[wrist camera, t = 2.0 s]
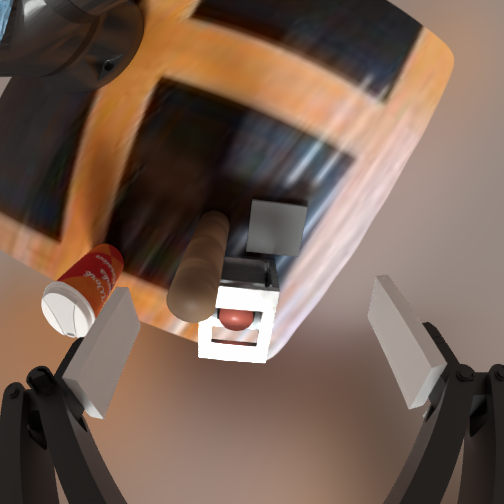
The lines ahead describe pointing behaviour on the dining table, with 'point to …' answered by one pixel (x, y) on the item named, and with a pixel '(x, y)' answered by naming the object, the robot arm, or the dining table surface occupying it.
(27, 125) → the dining table surface
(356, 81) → the dining table surface
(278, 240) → the mat
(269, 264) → the box
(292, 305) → the dining table surface
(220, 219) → the stylus
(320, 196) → the dining table surface
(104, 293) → the paper cup
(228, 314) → the button
